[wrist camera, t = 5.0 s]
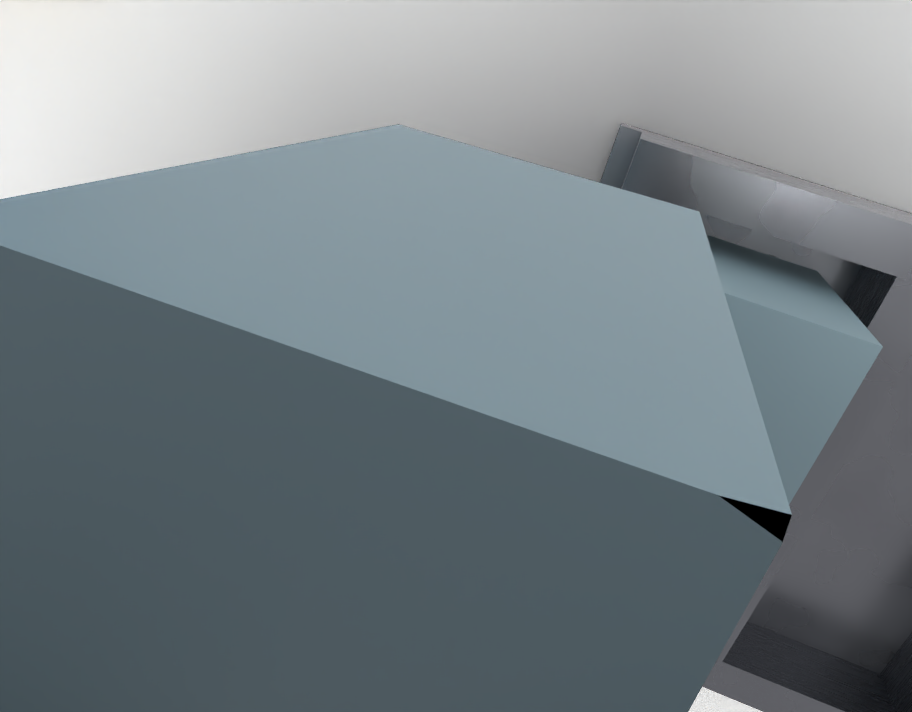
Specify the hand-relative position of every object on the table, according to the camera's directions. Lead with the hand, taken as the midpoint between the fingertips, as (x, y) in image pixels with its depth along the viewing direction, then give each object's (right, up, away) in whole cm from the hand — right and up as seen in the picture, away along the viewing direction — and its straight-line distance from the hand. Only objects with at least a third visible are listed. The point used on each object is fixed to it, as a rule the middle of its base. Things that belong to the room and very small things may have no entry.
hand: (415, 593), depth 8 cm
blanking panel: (0, 0, +1) cm, 1 cm away
